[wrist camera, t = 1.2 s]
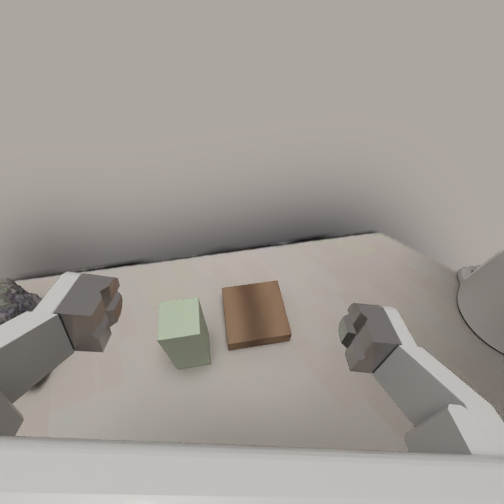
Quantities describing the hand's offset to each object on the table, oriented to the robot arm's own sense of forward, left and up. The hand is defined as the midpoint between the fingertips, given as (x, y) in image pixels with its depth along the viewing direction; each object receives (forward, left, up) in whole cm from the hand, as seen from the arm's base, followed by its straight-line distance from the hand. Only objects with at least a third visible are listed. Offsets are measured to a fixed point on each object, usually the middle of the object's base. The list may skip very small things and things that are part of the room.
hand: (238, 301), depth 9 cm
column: (+4, -10, -31) cm, 33 cm away
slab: (-6, -12, -31) cm, 34 cm away
